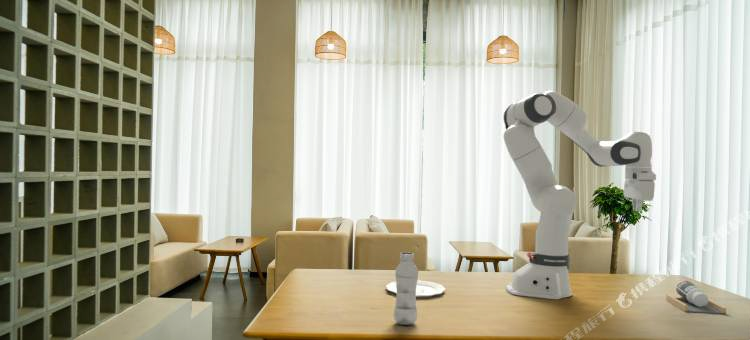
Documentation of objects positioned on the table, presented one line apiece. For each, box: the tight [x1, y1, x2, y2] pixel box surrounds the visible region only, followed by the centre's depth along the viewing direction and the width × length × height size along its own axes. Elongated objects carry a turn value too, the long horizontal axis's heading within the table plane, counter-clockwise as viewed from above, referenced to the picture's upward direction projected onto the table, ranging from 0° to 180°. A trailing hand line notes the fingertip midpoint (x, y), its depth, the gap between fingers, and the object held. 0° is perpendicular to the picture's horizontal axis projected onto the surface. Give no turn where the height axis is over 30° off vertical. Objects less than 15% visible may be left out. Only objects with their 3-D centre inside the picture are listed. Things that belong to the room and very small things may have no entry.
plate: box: [385, 279, 446, 298], centre depth 170 cm, size 21×21×2 cm
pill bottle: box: [675, 279, 709, 307], centre depth 160 cm, size 6×6×10 cm
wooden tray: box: [665, 294, 727, 315], centre depth 157 cm, size 12×14×2 cm
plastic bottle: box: [393, 251, 419, 326], centre depth 135 cm, size 6×7×20 cm
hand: (637, 211), depth 181 cm, fingers closed
